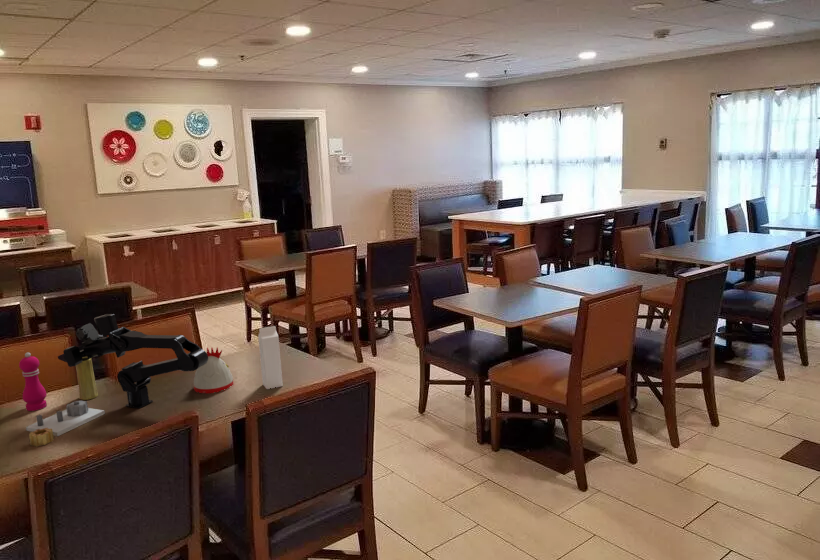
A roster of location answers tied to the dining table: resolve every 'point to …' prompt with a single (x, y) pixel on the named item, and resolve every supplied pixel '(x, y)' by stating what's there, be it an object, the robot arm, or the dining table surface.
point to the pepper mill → (32, 384)
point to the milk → (270, 357)
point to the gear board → (67, 418)
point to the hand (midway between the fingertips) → (67, 353)
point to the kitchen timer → (213, 374)
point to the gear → (41, 437)
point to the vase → (86, 380)
